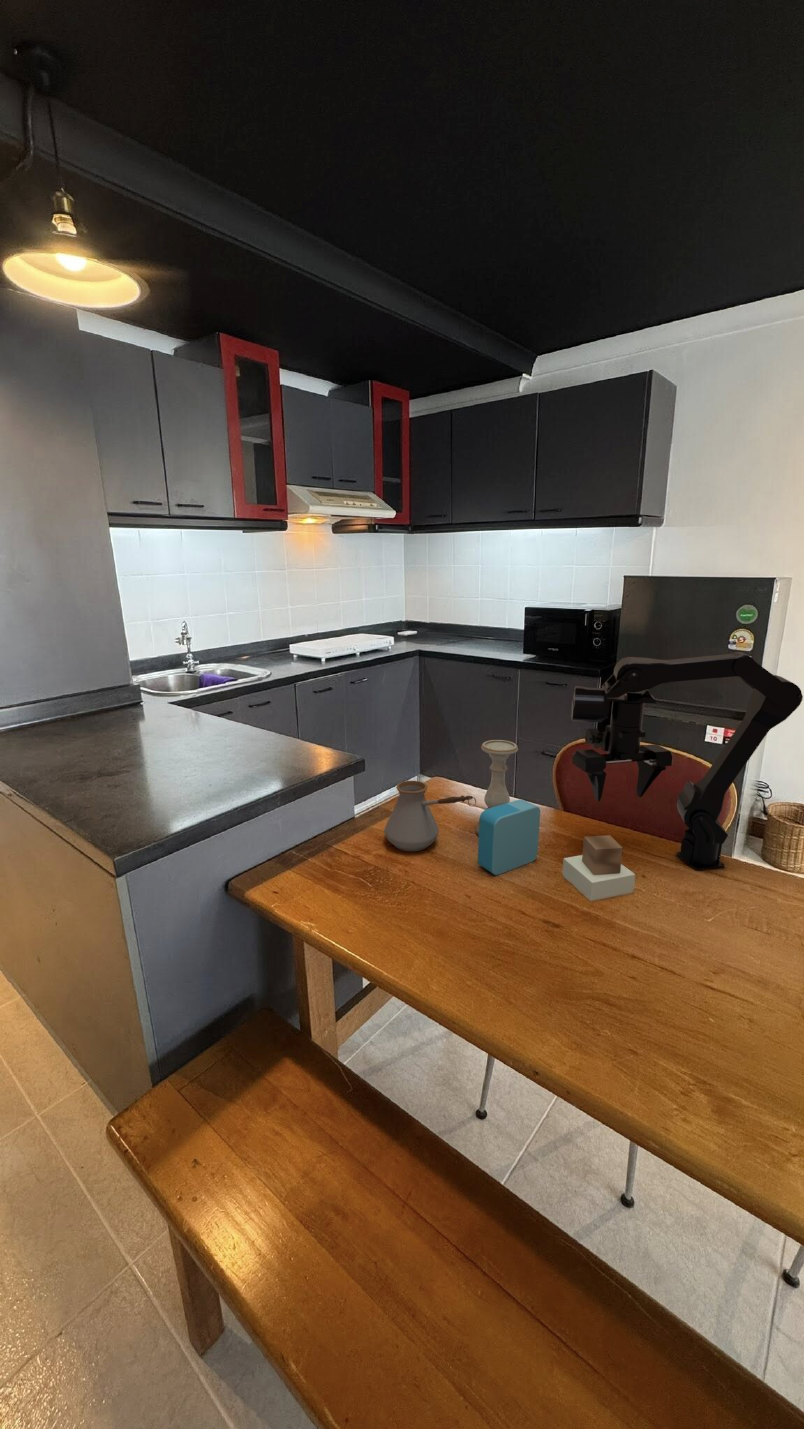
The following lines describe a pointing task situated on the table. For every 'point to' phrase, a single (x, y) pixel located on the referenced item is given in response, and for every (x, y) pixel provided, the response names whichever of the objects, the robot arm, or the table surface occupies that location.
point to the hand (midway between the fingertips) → (618, 798)
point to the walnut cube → (602, 855)
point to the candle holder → (497, 772)
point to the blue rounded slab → (508, 836)
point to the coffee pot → (414, 817)
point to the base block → (597, 880)
